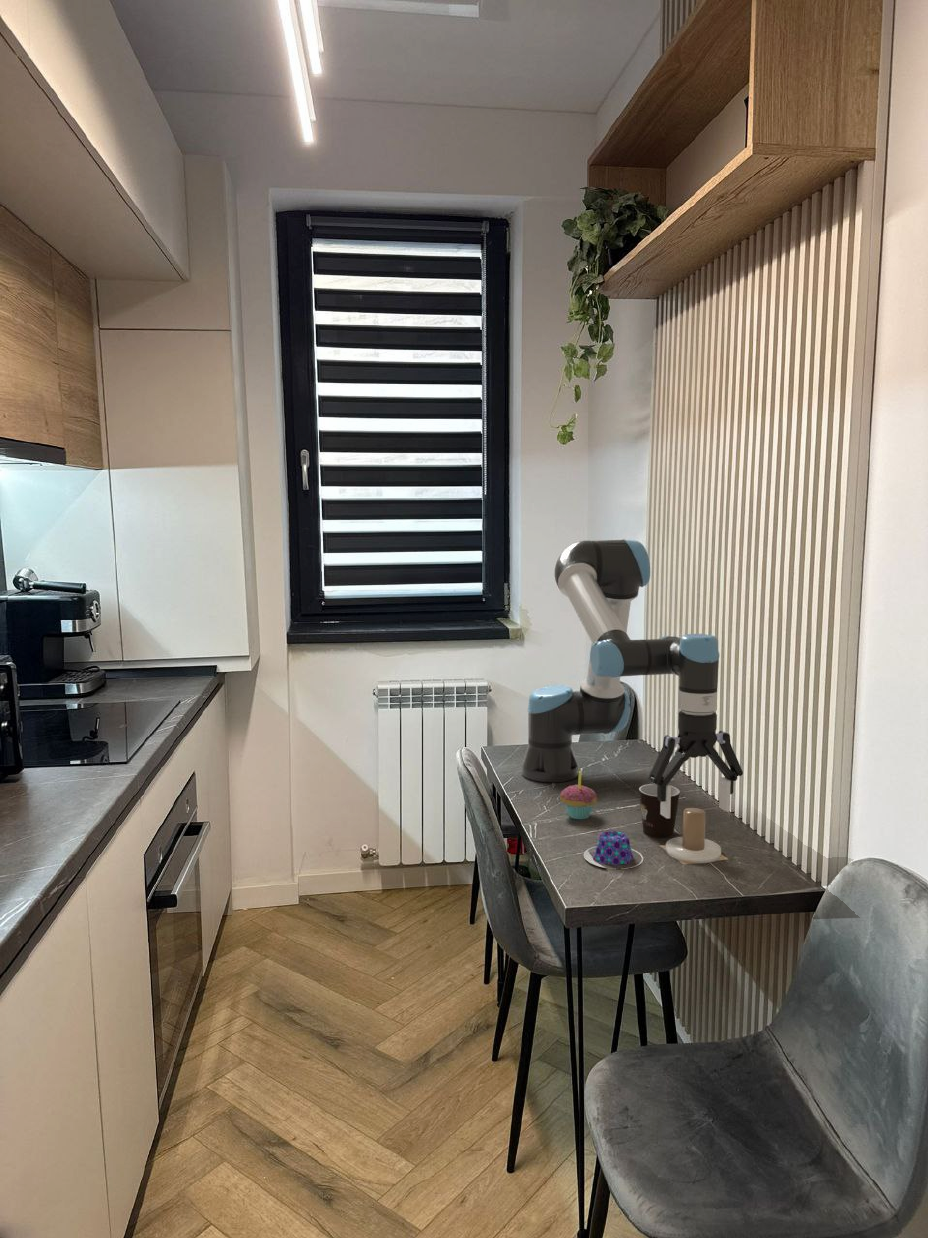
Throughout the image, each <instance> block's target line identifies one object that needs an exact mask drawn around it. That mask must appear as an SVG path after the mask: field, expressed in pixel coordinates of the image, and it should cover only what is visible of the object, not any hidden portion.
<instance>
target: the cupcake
mask: <svg viewBox="0 0 928 1238" xmlns="http://www.w3.org/2000/svg"><path fill="white" fill-rule="evenodd" d="M582 775H583V774H582V768H579V770H578V782H577V784H573V785H569V786H567V787H565V788H564V789H562V790H561V792H560V800H559V801H560V802H562V803H563V804H564V806H565V808H566V810H567V815H568V817H569V818H572V819H574V820H586V819H588V818H590V815H591V812H592V809H593V807H594V805H595V804H596V803H597V802H598V797H597V793H596V791H594V790H593V789H592V788H590V787H588V786H585V785H584V784H583V785H582Z"/></svg>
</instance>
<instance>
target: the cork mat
mask: <svg viewBox="0 0 928 1238" xmlns="http://www.w3.org/2000/svg"><path fill="white" fill-rule="evenodd" d="M659 847H660V848H662V849H663V850H664V851H665V852H666V844H662V845H659ZM676 860H677V861H679V862H680V863H681V864H682V865H683V866H686V865H693V864H696V863H690V862H685V861H681V860H678V859H676ZM724 860H725V861H726V860H729V858H727V857H726V856H725V855H723V854H722V853H721V857H720V858H719V859H718V860H716V861H715V862H717V861H718V862H719V861H724Z"/></svg>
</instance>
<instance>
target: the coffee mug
mask: <svg viewBox="0 0 928 1238" xmlns="http://www.w3.org/2000/svg"><path fill="white" fill-rule="evenodd" d="M668 785H669V784H668ZM669 786H670V787H671V807H670V818H665V817H664V816H662V815H661V814H660V805H661V801H659V800H658V798H657V785H656V784H654V783H649V784H643V785H641V786H640V787H639V788H638V790H639V791H638V792H639V801H640V802H639V803H640V811H641V824H642V830H643V831H642V832H643V834H644V835H646V836H647V837H650V838H655V839H668V838H671V837H673V836H674V832H675V825H676V820H677V819H676V818H677V813H678V808H679V807H678V805H679V799H680V793H681V792H680V789H679V788H677V787H676V786H673V785H669Z"/></svg>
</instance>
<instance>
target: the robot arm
mask: <svg viewBox="0 0 928 1238" xmlns="http://www.w3.org/2000/svg"><path fill="white" fill-rule="evenodd" d="M650 579H651V562H650V558H649V554H648V552H647V549H646V547H645V546H644V544H643V543H641V542H640V541H639V540H631V539H630V540H626V539H615V540H614V539H611V540H610V539H608V540H607V539H605V540H601V539H600V540H581V541H577V542H574V543H572V544H570V545H569V546H568V547H567V548H565V549H564V550H563V551H562V552H561V553H560V555H559V556H558V558H557V560H556V563H555V566H554V580H555V583H556V585H557V588H558V589H559V591H560V593H561V594H562V595H563V596H565V597H567V598H568V600H569V601H570V603H571V605H572V607H573V609H574V611H575V613H576V615H577V617H578V619H579V621H580V622H581V624H582V626H583V627H584V630H585V632H586V634H587V635H588V637H589V640H590V642H591V645H590V651H589V661H588V669H587V677H586V678H585V679H583V680H582V681H581V682H580V688H579V691H574V690H573V688H572V687H570V686H568V685H550V686H549V685H548V686H545V687H540V688H537V689H535V690H533V691H532V692H531V693H530V694H529V697H528V706H527V712H528V716H527V717H528V720H527V721H528V723H527V725H528V727H527V730H528V733H527V741H528V742H527V744H528V745H527V748H526V752H525V754H524V757H523V761H522V764H521V775H522V776H523V777H524V778H525V779H529V780H531V781H536V782H542V783H562V782H563V783H564V782H567V781H572V780H574V779H576V778H577V777H579V765H578V762H577V760H576V759H577V758H576V756H575V752H574V750H573V745H572V744H573V741H572V740H573V736H582V735H597V734H603V735H608V734H611V733H612V734H613V733H619V732H620V731H623V730H624V729H625V727H626V726H627V724H628V722H629V719H630V715H631V707H630V704H631V700H630V696H629V694H628V692H627V691H626V690H625V687H624V685H623V684H622V683H621V682H620V681H621V677H634V676H655V675H656V676H657V675H675V676H678V677H679V678H678V684H679V685H678V709H679V711H678V719H677V722H678V723H677V724H678V725H677V727H678V735H677V737H676V736H675V737H674V736H670V735H664V736H663V743H662V747H661V749H660V751H659V754H658V756H657V757H656V761H655V762H654V765H653V767H652V769H651V771H650V773H649V776H648V781H649V782H650V783H652V784H656V785H657V798H658V800H659V801H661V805H660V814H661V815H662V816H664V817H665V818H670V807H671V787H670V786H671V785H670V786H669V783H670V782H671V781H672V779H673V778H674V777H675V775H676V774H677V773H678V771H679V770H680V769H681V767H682V766H683V765H684V763H685V762H687V761H688V760H689V759H690V758H693V759H694V758H695V759H696V758H698V757H701V758H705V757H709V759H710V760H711V762H712V763H713V764H714V765H715V766H716V768H717V769H718V770H719V772H720V773H722V775H723V776H720V777H719V797H718V800H719V805H718V806H719V807H718V808H719V809H721V810H722V811H724V812H727V813H729V812H731V795H734V794H733V793H734V785H735V783H734V782H736V781H737V780H738V777H742V776H743V774H744V771H743V769H742V767H741V765H740V763H739V760H738V758H737V755H736V753H735V751H734V749H733V746H732V744H731V736H730V733H728V732H726V731H723V730H719V731H718V733H716V731H717V725H718V714H717V713H716V711H717V710H718V687H719V663H720V661H719V660H720V651H719V639H718V638H717V637H716V636H715V635H713V634H705V633H685V634H684V635H682V636H681V637H679V636H670V635H669V636H668V635H665V636H662V637H660V638H655V639H654V638H652V639H631V638H630V637H629V635H628V633H627V632H628V626H629V624H628V623H629V619H630V618H629V617H630V610H631V604H632V601H633V600H635V599H636V598H638V595H639V590H640V588H643V587H646V586H647V585H648V583H649V582H650ZM716 743H719V746H720V749H721V751H722V753H723V755H724V758H725V761H726V762H725V761H724V760H723V758H722V756H720V754H719V752H718V751H717V749H716V748H714V746H715V744H716ZM677 746H678V748H677ZM675 748H677V749H676V750H675ZM674 751H675V752H674ZM673 753H674V756H672V755H673Z"/></svg>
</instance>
